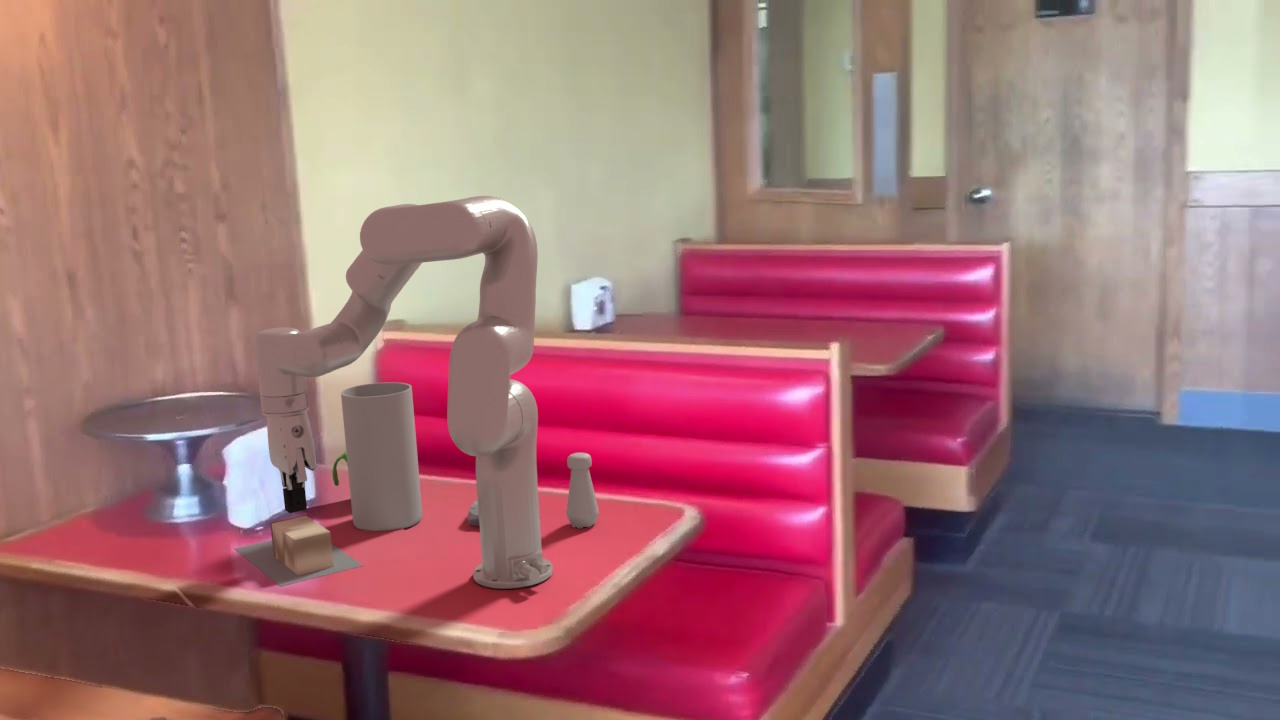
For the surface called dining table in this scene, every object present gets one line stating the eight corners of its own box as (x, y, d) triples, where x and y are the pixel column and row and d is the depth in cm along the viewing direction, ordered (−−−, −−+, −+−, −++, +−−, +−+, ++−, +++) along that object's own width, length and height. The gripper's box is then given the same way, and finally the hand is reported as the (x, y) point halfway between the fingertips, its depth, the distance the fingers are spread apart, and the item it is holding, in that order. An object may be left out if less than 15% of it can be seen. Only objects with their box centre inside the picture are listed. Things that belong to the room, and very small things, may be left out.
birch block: (308, 548, 213) (333, 566, 204) (273, 556, 210) (298, 575, 200) (304, 515, 212) (330, 531, 203) (270, 522, 209) (294, 540, 199)
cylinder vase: (340, 524, 227) (327, 391, 222) (397, 507, 236) (386, 379, 231) (378, 538, 218) (366, 400, 214) (436, 520, 227) (425, 387, 222)
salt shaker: (605, 522, 221) (601, 451, 219) (588, 531, 216) (584, 459, 214) (578, 518, 224) (574, 448, 222) (560, 527, 219) (556, 456, 217)
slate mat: (363, 567, 204) (363, 565, 203) (280, 588, 196) (280, 586, 196) (312, 532, 223) (311, 530, 223) (234, 550, 215) (234, 548, 215)
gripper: (323, 406, 199) (334, 515, 202) (291, 392, 211) (302, 496, 214) (277, 414, 195) (289, 526, 198) (248, 400, 207) (259, 505, 210)
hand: (296, 510), depth 206 cm, fingers closed
